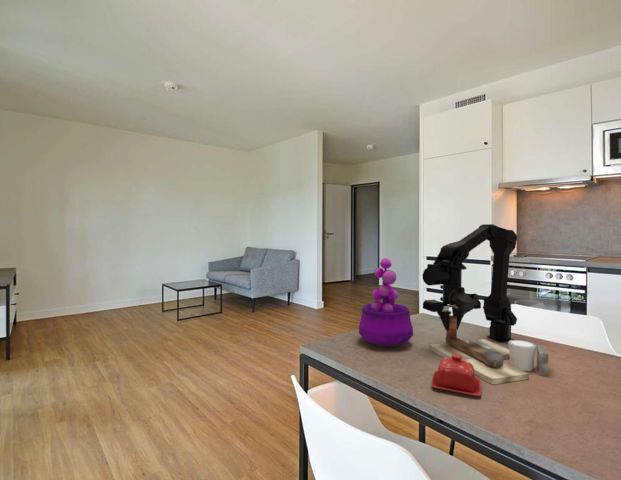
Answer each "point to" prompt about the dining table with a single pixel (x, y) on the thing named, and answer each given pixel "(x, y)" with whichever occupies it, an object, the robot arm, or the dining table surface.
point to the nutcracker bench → (495, 373)
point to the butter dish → (456, 376)
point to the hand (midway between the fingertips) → (451, 330)
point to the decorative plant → (385, 313)
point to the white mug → (522, 354)
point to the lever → (472, 346)
